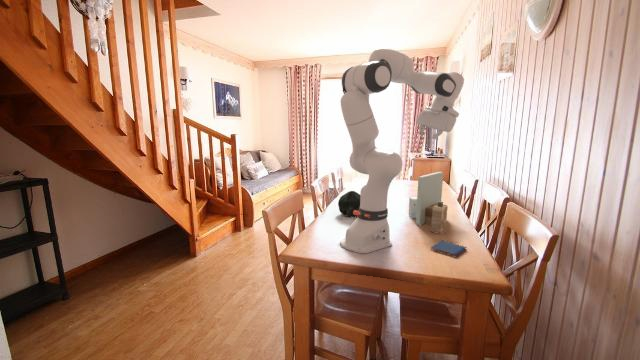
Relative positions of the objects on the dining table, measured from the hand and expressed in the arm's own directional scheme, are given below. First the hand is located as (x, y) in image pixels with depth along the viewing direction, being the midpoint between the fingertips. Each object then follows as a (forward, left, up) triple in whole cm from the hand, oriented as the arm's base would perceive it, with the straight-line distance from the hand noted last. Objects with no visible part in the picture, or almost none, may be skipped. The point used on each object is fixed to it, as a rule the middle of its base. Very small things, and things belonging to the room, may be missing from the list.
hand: (427, 136), depth 137 cm
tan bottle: (-4, -10, -43) cm, 44 cm away
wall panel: (+8, +1, -43) cm, 44 cm away
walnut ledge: (+8, -3, -43) cm, 44 cm away
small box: (+9, +8, -43) cm, 45 cm away
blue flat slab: (-21, -22, -44) cm, 53 cm away
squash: (-14, +34, -43) cm, 57 cm away
